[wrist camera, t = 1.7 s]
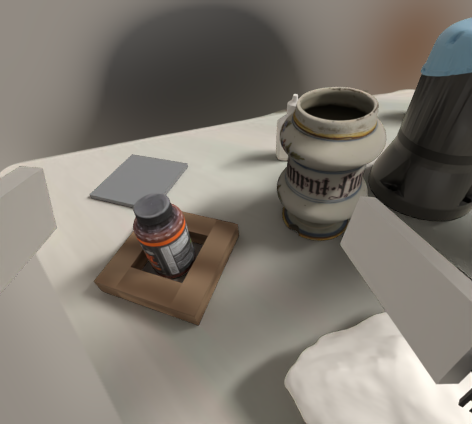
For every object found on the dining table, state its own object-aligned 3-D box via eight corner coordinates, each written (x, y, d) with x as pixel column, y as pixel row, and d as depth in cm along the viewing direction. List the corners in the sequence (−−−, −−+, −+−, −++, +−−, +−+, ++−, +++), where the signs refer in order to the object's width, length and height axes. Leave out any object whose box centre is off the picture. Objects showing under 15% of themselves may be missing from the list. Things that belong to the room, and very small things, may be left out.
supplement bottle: (145, 262, 38) (113, 204, 30) (180, 237, 40) (159, 179, 32) (169, 289, 34) (140, 233, 26) (205, 260, 37) (188, 202, 29)
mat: (133, 157, 57) (132, 154, 56) (187, 166, 53) (187, 163, 52) (91, 197, 48) (89, 194, 48) (152, 212, 45) (151, 208, 44)
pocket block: (158, 216, 44) (154, 205, 42) (238, 235, 40) (237, 224, 38) (102, 291, 35) (93, 281, 33) (198, 325, 31) (194, 316, 29)
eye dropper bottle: (302, 164, 51) (310, 101, 42) (273, 159, 53) (275, 98, 44) (306, 151, 54) (315, 90, 45) (279, 147, 55) (282, 88, 47)
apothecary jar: (259, 219, 42) (258, 107, 29) (303, 181, 47) (318, 72, 35) (329, 262, 36) (367, 143, 23) (370, 212, 41) (419, 94, 28)
